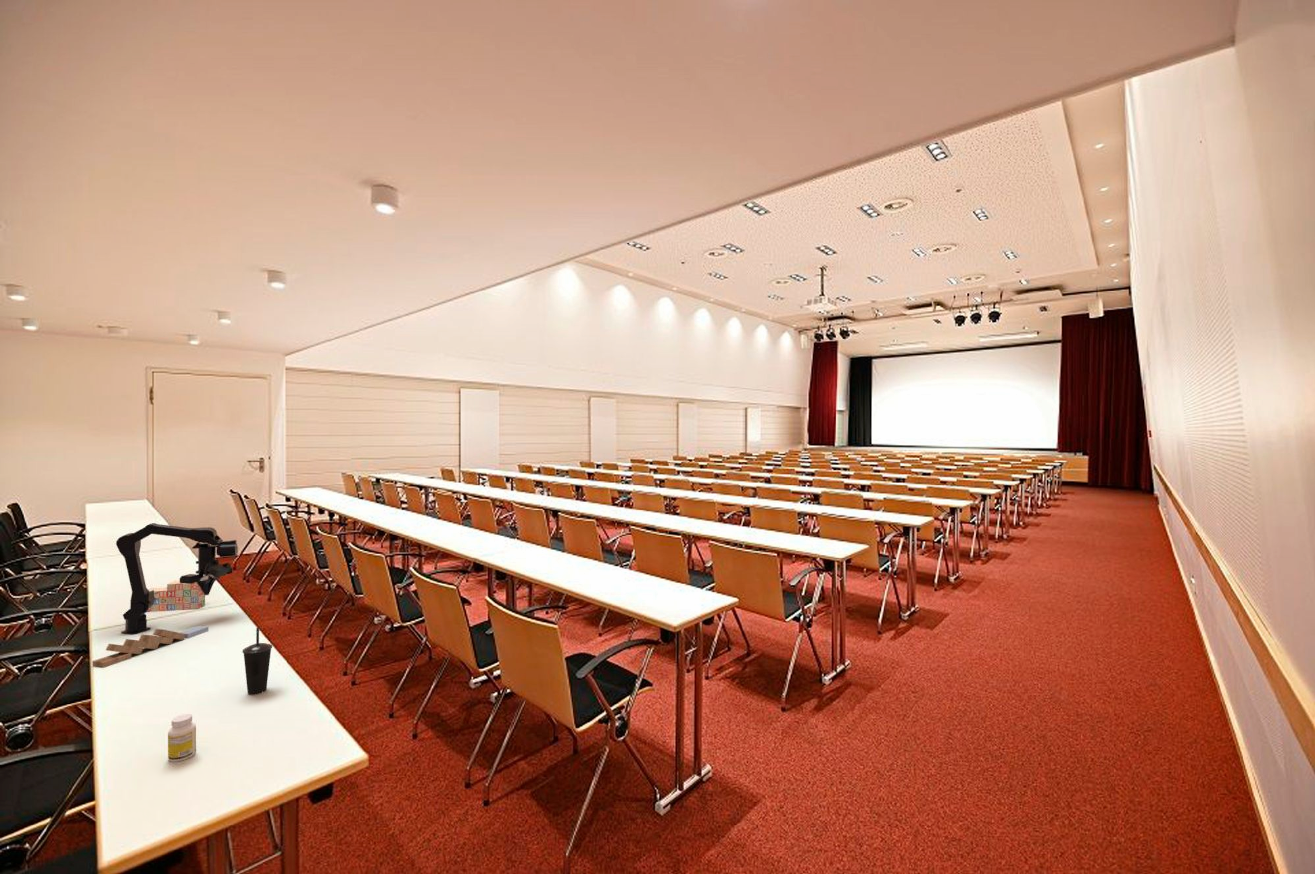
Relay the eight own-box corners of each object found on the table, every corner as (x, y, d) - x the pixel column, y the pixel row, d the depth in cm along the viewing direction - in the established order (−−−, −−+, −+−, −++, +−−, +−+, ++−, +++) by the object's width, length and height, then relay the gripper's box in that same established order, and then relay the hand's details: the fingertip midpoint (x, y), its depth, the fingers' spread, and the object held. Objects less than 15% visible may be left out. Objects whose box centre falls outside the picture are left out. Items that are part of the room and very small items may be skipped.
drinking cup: (277, 688, 181) (278, 625, 181) (253, 698, 174) (254, 633, 174) (260, 684, 184) (260, 622, 184) (236, 694, 177) (236, 630, 176)
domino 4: (161, 642, 218) (138, 640, 211) (163, 636, 219) (141, 634, 211) (171, 644, 217) (149, 641, 209) (173, 638, 218) (152, 635, 210)
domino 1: (120, 658, 204) (92, 667, 196) (120, 651, 204) (92, 661, 196) (131, 659, 203) (103, 669, 195) (131, 653, 203) (103, 662, 195)
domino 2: (130, 653, 208) (105, 650, 201) (133, 646, 209) (108, 643, 202) (140, 654, 207) (115, 651, 199) (143, 647, 208) (118, 644, 200)
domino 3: (146, 647, 213) (123, 645, 205) (149, 641, 214) (126, 638, 206) (156, 649, 212) (133, 646, 204) (159, 642, 213) (136, 640, 205)
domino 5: (173, 638, 222) (152, 634, 215) (176, 633, 223) (155, 628, 216) (183, 640, 221) (162, 635, 214) (186, 634, 222) (165, 629, 215)
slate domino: (197, 631, 232) (177, 638, 224) (197, 625, 232) (177, 633, 224) (208, 632, 231) (188, 639, 223) (208, 626, 231) (188, 633, 223)
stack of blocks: (142, 612, 254) (142, 585, 254) (151, 608, 260) (151, 581, 260) (198, 609, 259) (198, 582, 259) (205, 605, 265) (205, 579, 265)
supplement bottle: (178, 750, 146) (178, 712, 145) (201, 750, 146) (201, 711, 146) (162, 763, 140) (162, 723, 140) (185, 762, 141) (185, 722, 141)
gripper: (201, 564, 229) (201, 602, 230) (243, 554, 248) (242, 590, 248) (178, 562, 232) (178, 600, 232) (221, 553, 250) (221, 588, 250)
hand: (206, 595), depth 240 cm, fingers closed
